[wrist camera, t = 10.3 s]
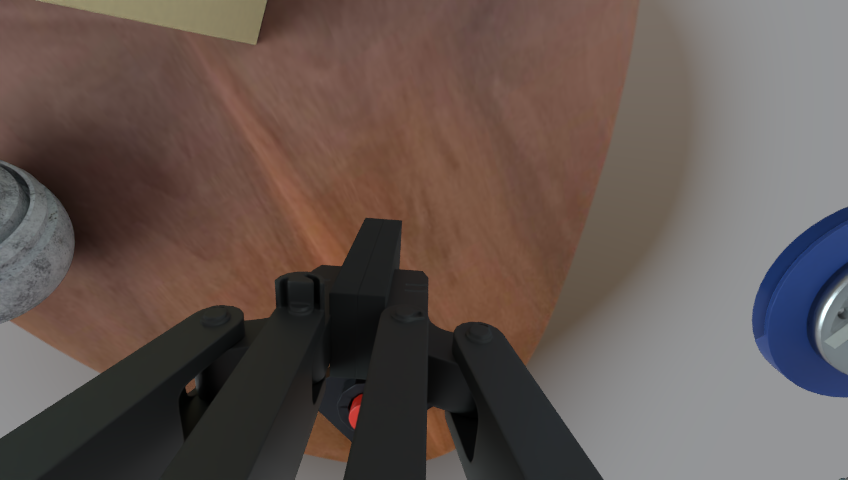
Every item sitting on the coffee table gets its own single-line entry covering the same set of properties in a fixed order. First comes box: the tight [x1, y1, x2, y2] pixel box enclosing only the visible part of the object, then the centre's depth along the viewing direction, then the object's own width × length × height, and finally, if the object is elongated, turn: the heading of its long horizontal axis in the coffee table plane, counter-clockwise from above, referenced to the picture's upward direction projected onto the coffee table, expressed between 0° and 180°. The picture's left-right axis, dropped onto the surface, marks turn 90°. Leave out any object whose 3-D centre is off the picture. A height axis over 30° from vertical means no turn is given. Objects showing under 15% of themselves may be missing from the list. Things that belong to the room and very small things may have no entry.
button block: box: [318, 367, 433, 442], centre depth 47 cm, size 12×10×4 cm
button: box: [349, 394, 363, 429], centre depth 45 cm, size 4×4×2 cm
